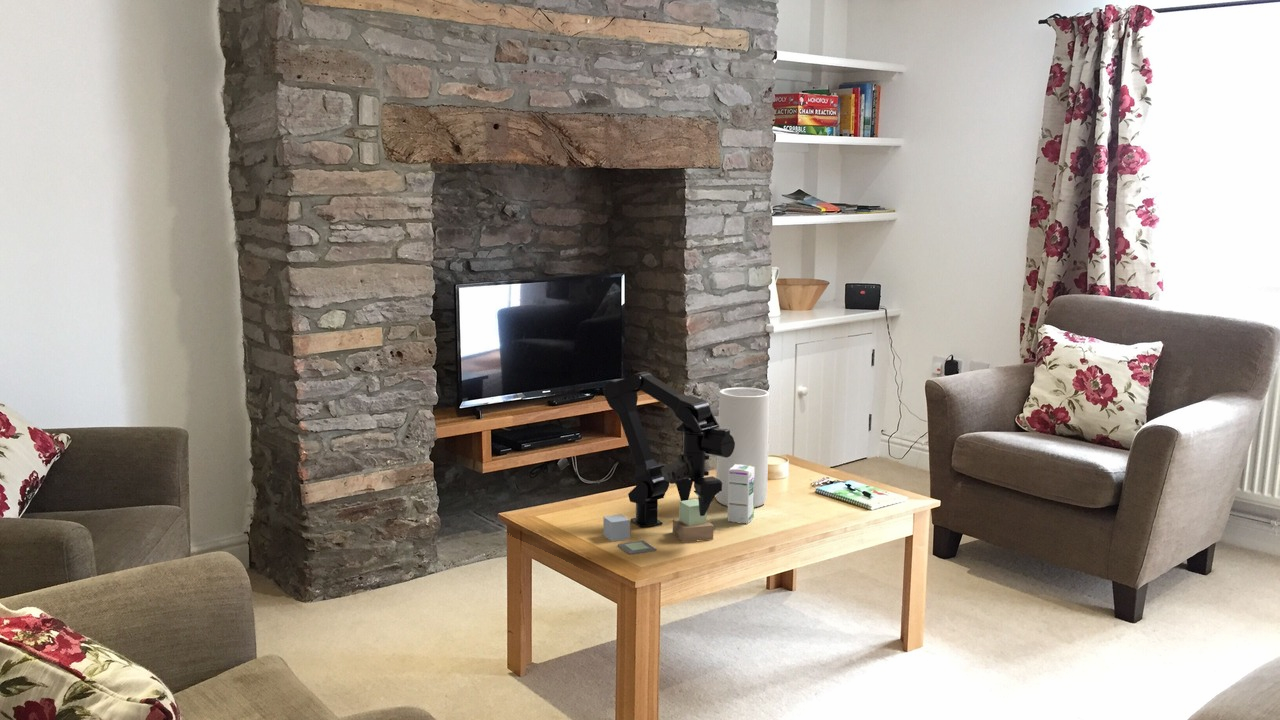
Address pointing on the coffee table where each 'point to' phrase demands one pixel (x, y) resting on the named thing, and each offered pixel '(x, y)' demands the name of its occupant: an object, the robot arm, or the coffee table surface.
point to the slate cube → (616, 527)
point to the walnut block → (692, 531)
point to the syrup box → (741, 493)
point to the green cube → (690, 512)
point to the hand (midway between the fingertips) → (693, 510)
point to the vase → (745, 437)
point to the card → (636, 547)
